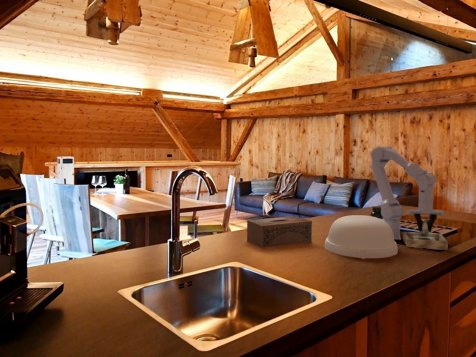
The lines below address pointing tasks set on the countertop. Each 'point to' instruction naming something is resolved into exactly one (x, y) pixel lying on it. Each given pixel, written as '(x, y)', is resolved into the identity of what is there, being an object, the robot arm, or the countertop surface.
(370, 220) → the dome cover
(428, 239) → the peg box
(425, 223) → the steel peg
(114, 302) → the countertop surface
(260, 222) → the tissue box cover
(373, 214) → the supplement bottle
